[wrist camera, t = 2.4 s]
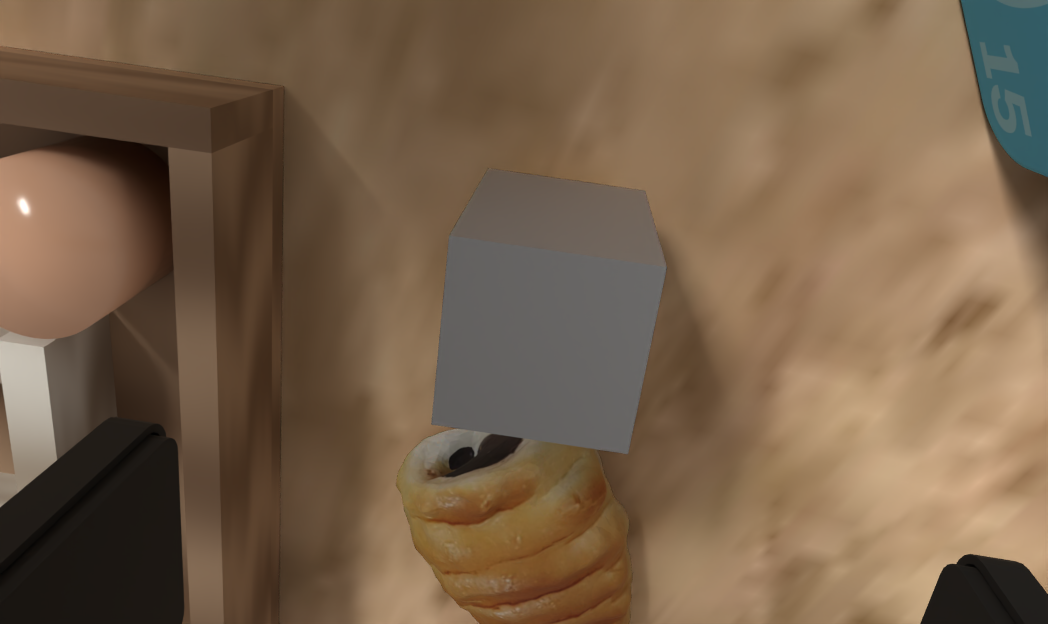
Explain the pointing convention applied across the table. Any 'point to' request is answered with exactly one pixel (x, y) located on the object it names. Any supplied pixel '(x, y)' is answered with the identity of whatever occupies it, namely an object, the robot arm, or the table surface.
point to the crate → (171, 314)
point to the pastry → (519, 528)
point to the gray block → (548, 311)
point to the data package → (1013, 74)
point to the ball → (80, 233)
